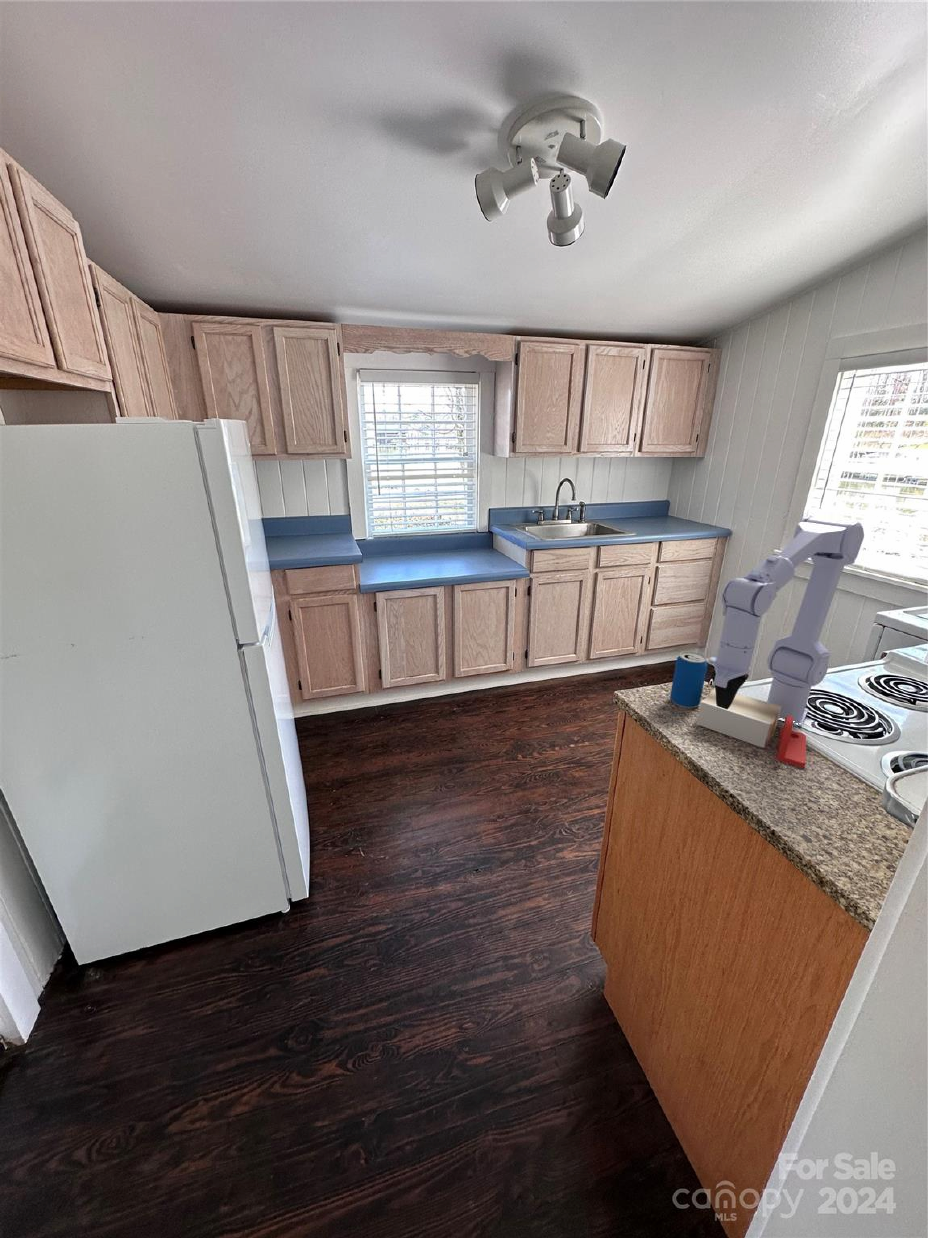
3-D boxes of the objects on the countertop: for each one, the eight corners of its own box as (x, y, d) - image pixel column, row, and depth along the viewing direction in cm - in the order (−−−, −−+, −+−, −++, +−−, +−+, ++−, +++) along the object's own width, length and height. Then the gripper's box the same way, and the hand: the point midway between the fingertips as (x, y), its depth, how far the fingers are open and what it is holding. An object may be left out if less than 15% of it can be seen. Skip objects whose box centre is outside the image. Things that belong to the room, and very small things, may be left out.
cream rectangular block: (710, 707, 114) (715, 686, 112) (775, 729, 105) (781, 706, 103) (698, 723, 107) (702, 701, 105) (766, 747, 99) (772, 724, 97)
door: (697, 722, 107) (702, 700, 105) (764, 745, 99) (771, 722, 97) (696, 724, 106) (700, 701, 104) (763, 748, 98) (770, 724, 96)
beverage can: (678, 693, 120) (686, 648, 116) (704, 704, 115) (713, 657, 111) (664, 701, 116) (672, 655, 112) (690, 713, 111) (700, 665, 107)
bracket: (804, 768, 93) (814, 733, 90) (776, 760, 95) (786, 725, 93) (804, 738, 102) (814, 705, 100) (779, 731, 105) (788, 699, 102)
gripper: (724, 626, 99) (712, 686, 103) (702, 648, 88) (689, 713, 93) (764, 635, 94) (749, 697, 99) (745, 659, 84) (729, 727, 89)
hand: (723, 706), depth 96 cm, fingers closed
